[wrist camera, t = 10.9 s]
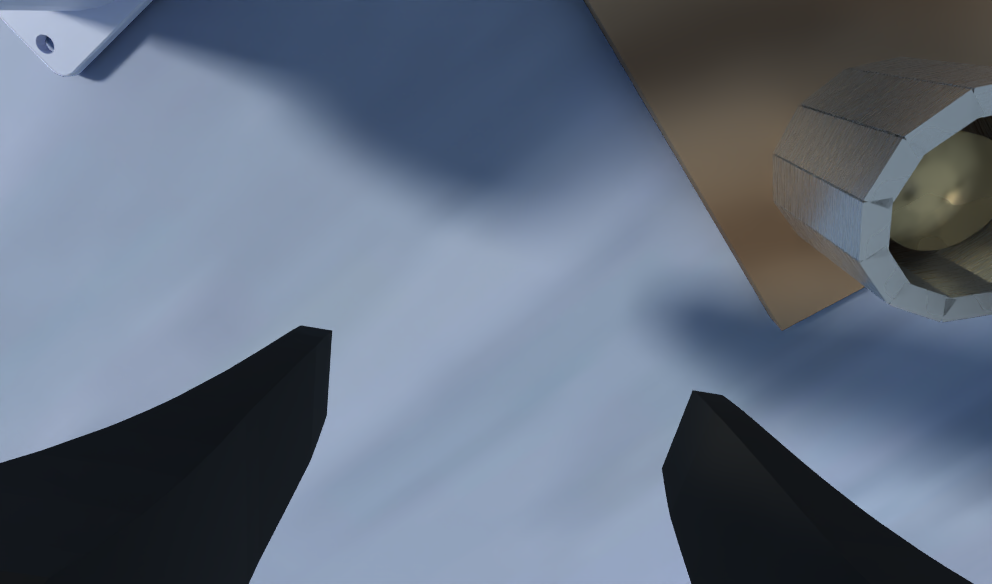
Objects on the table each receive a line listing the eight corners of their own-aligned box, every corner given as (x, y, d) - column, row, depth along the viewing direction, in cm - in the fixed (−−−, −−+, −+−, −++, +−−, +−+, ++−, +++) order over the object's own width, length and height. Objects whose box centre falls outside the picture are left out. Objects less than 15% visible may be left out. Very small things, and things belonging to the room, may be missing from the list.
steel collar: (772, 83, 17) (868, 109, 12) (980, 40, 16) (1163, 50, 12) (772, 260, 19) (854, 336, 15) (954, 228, 18) (1098, 297, 14)
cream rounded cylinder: (799, 150, 18) (862, 180, 14) (898, 89, 17) (989, 107, 14) (837, 227, 19) (905, 271, 15) (932, 173, 18) (1024, 208, 15)
